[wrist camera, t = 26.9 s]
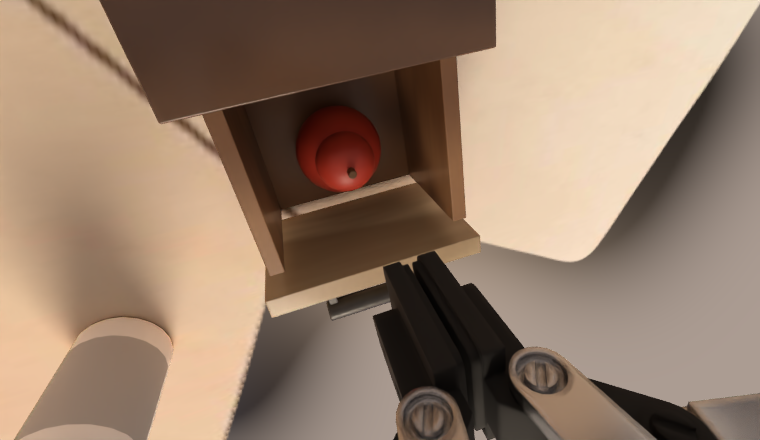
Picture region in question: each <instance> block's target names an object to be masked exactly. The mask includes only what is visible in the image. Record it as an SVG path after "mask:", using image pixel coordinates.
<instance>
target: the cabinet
mask: <svg viewBox="0 0 760 440" xmlns="http://www.w3.org/2000/svg"><path fill="white" fill-rule="evenodd" d="M100 2H101V4H102V7H103V9H104V11H105V13H106V15H107V17H108V19H109V21H110V23H111V25H112V27H113V29H114V31H115V33H116V35H117V38H118V40H119V42H120V44H121V46H122V48H123V50H124V52H125V54H126V56H127V58H128V60H129V62H130V64H131V66H132V68H133V71H134V73H135V75H136V77H137V79H138V81H139V83H140V85H141V87H142V89H143V91H144V93H145V95H146V97H147V99H148V102H149V104H150V106H151V108H152V110H153V112H154V114H155V116H156V118H157V120H158V122H159V123H160V124H163V123H168V122H172V121H176V120H181V119H185V118H189V117H194V116H198V115H203V114H207V113H211V112H216V111H220V110H224V109H229V108H233V107H237V106H242V105H246V104H251V103H255V102H259V101H264V100H268V99H272V98H277V97H281V96H285V95H290V94H294V93H299V92H303V91H307V90H312V89H316V88H320V87H325V86H329V85H333V84H338V83H342V82H347V81H351V80H355V79H360V78H364V77H368V76H373V75H377V74H381V73H386V72H390V71H395V70H399V69H403V68H408V67H412V66H416V65H421V64H425V63H429V62H434V61H438V60H442V59H447V58H451V57H456V56H460V55H464V54H469V53H473V52H477V51H482V50H486V49H490V48H494V47H496V0H100Z"/></svg>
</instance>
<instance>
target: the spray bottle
mask: <svg viewBox="0 0 760 440" xmlns="http://www.w3.org/2000/svg"><path fill="white" fill-rule="evenodd" d="M172 355H173V346H172V343H171V339H170V337H169V336H168V335H167V334H166V333H165V331H164V330H163V329H161V328H160V327H158V326H157V325H155V324H153V323H151V322H148V321H145V320H142V319H139V318H128V317H119V318H111V319H105V320H103V321H100V322H97V323H95V324H92V325H91V326H89V327H88V328H87V329H85V330H84V331H83V332H81V333H80V334H79V335H78V337H77V339H76V340H75V342H74V344H73V345H72V347H71V348H70V350H69V352H68V353H67V355H66V357H65V358H64V360H63V361H62V363H61V365H60V366H59V368H58V369H57V371H56V373H55V374H54V376H53V378H52V379H51V381H50V382H49V384H48V386H47V387H46V389H45V390H44V392H43V394H42V395H41V397H40V399H39V400H38V402H37V403H36V405H35V407H34V408H33V410H32V411H31V413H30V415H29V416H28V418H27V420H26V421H25V423H24V424H23V426H22V428H21V429H20V431H19V432H18V434H17V436H16V437H15V439H14V440H148V437H149V434H150V431H151V427H152V424H153V421H154V417H155V414H156V410H157V407H158V404H159V400H160V397H161V393H162V390H163V387H164V383H165V380H166V377H167V373H168V370H169V366H170V363H171V360H172Z"/></svg>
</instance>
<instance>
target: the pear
mask: <svg viewBox="0 0 760 440" xmlns="http://www.w3.org/2000/svg"><path fill="white" fill-rule="evenodd" d="M296 157H297V161H298V164H299V166H300V168H301V170H302V172H303V173H304V175H305V176H306V177H307V178H308V179H309V180H310V181H311V182H312V183H314V184H315V185H316V186H318V187H320V188H322V189H325V190H328V191H332V192H346V191H352V190H355V189H358V188H360V187H362V186H363V185H364V184H365V183H367V181H368V180H369V179H370V178H371V177H372V175H373V174H374V173H375V171H376V169H377V167H378V164H379V161H380V157H381V143H380V138H379V135H378V132H377V130H376V128H375V127H374V125H373V124H372V122H371V121H370V120H369V119H368V118H367V117H366V116H365V115H364V114H362V113H361V112H359V111H357V110H355V109H353V108H350V107H347V106H338V105H337V106H329V107H325V108H322V109H319V110H318V111H316V112H314V113H313V114H311V115H310V116H309V117H308V118H307V119H306V120H305V122H304V123H303V124H302V126H301V128H300V130H299V132H298V135H297V138H296Z"/></svg>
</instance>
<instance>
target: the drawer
mask: <svg viewBox="0 0 760 440" xmlns="http://www.w3.org/2000/svg"><path fill="white" fill-rule="evenodd" d="M337 105H338V106H347V107H350V108H353V109H355V110H357V111H359V112H361V113H362V114H364V115H365V116H366V117H367V118H368V119H369V120H370V121H371V122H372V124H373V125H374V127H375V128H376V130H377V132H378V135H379V138H380V143H381V157H380V161H379V164H378V167H377V169H376V171H375V173H374V174H373V175H372V177H371V178H370V179H369V180H368V181H367V183H365V184H364V185H363V186H362V187H365V186H368V185H372V184H376V183H379V182H383V181H387V180H390V179H394V178H398V177H401V176H405V175H410V176H411V177H412V178H413V179H414V180H415V181H416V182H417V183H413V184H410V185H406V186H402V187H399V188H395V189H392V190H388V191H384V192H381V193H377V194H374V195H370V196H366V197H363V198H359V199H356V200H352V201H348V202H345V203H341V204H338V205H334V206H330V207H327V208H323V209H320V210H316V211H312V212H309V213H305V214H302V215H298V216H294V217H291V218H287V219H284V220H282V216H281V209H284V208H288V207H292V206H295V205H299V204H303V203H306V202H310V201H314V200H317V199H321V198H325V197H328V196H332V195H336V194H339V193H343V192H332V191H328V190H325V189H322V188H320V187H318V186H316V185H315V184H314V183H312V182H311V181H310V180H309V179H308V178H307V177H306V176H305V175H304V173H303V172H302V170H301V168H300V166H299V164H298V161H297V157H296V138H297V135H298V132H299V130H300V128H301V126H302V124H303V123H304V122H305V120H306V119H307V118H308V117H309V116H310V115H311V114H313V113H314V112H316V111H318V110H319V109H322V108H325V107H329V106H337ZM203 118H204V120H205V122H206V125H207V127H208V129H209V132H210V134H211V137H212V139H213V141H214V144H215V146H216V149H217V151H218V153H219V156H220V158H221V161H222V163H223V165H224V168H225V170H226V172H227V175H228V177H229V180H230V182H231V184H232V187H233V189H234V192H235V194H236V196H237V199H238V201H239V204H240V206H241V208H242V211H243V213H244V216H245V218H246V220H247V223H248V225H249V227H250V230H251V232H252V235H253V237H254V239H255V242H256V244H257V247H258V249H259V251H260V254H261V256H262V259H263V261H264V263H265V266H266V270H265V303H266V306H267V308H268V310H269V312H270V314H271V317H272V318H273V317H276V316H279V315H282V314H286V313H289V312H292V311H295V310H298V309H301V308H305V307H308V306H311V305H314V304H317V303H320V302H324V301H327V300H328V301H327V307H328V311H329V314H330V318H331V320H332V321H333V320H336V319H339V318H342V317H345V316H349V315H352V314H355V313H358V312H361V311H364V310H367V309H370V308H373V307H376V306H379V305H382V304H386V303H388V302H390V298H389V294H388V289H387V285H386V283H384V282H386V280H385V276H384V271H383V267H384V266H387V265H390V264H393V263H396V262H399V261H400V262H401V264H402V265H405V264H408V265H409V266H410V268H411V270H412V272H413V267H412V262H415V261H417V256H418V255H421V254H425V253H428V252H431V251H435V252H436V253H437V254H438V256H439V257H440V258H441V260H442V261H443V262H444V263H447V262H451V261H454V260H457V259H460V258H463V257H467V256H470V255H473V254H476V253H479V252H481V250H480V235H479V234H478V233H477V232H476V231H475V230H474V229H473V228H472V227H471V226H470V225H469V224H468V223H467V222H466V221H465V220H464V219H463V218H466V211H465V195H464V178H463V161H462V145H461V128H460V111H459V95H458V78H457V61H456V57H451V58H447V59H442V60H438V61H434V62H429V63H425V64H421V65H416V66H412V67H408V68H403V69H399V70H395V71H390V72H386V73H381V74H377V75H373V76H368V77H364V78H360V79H355V80H351V81H347V82H342V83H338V84H333V85H329V86H325V87H320V88H316V89H312V90H307V91H303V92H299V93H294V94H290V95H285V96H281V97H277V98H272V99H268V100H264V101H259V102H255V103H251V104H246V105H242V106H237V107H233V108H229V109H224V110H220V111H216V112H211V113H207V114H203ZM360 188H361V187H360ZM413 273H414V272H413ZM381 283H383V284H381ZM378 284H380V285H378ZM374 285H376V286H374ZM371 286H374V287H371ZM368 287H370V288H368ZM365 288H367V289H365ZM362 289H364V290H362ZM359 290H361V291H359ZM355 291H357V292H355ZM352 292H354V293H352ZM349 293H351V294H349ZM346 294H348V295H346ZM343 295H345V296H343ZM340 296H342V297H340ZM337 297H339V298H337Z"/></svg>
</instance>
